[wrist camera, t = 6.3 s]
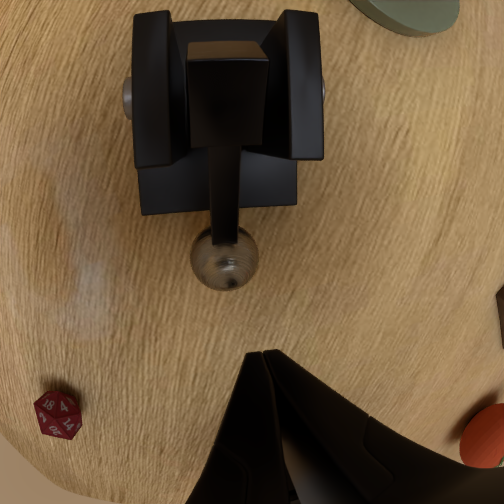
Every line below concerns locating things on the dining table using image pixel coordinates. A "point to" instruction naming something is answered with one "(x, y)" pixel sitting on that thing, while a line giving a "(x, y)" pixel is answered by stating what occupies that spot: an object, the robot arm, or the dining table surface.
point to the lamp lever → (225, 150)
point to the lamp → (411, 15)
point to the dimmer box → (501, 310)
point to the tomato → (484, 438)
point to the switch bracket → (176, 118)
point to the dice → (58, 414)
